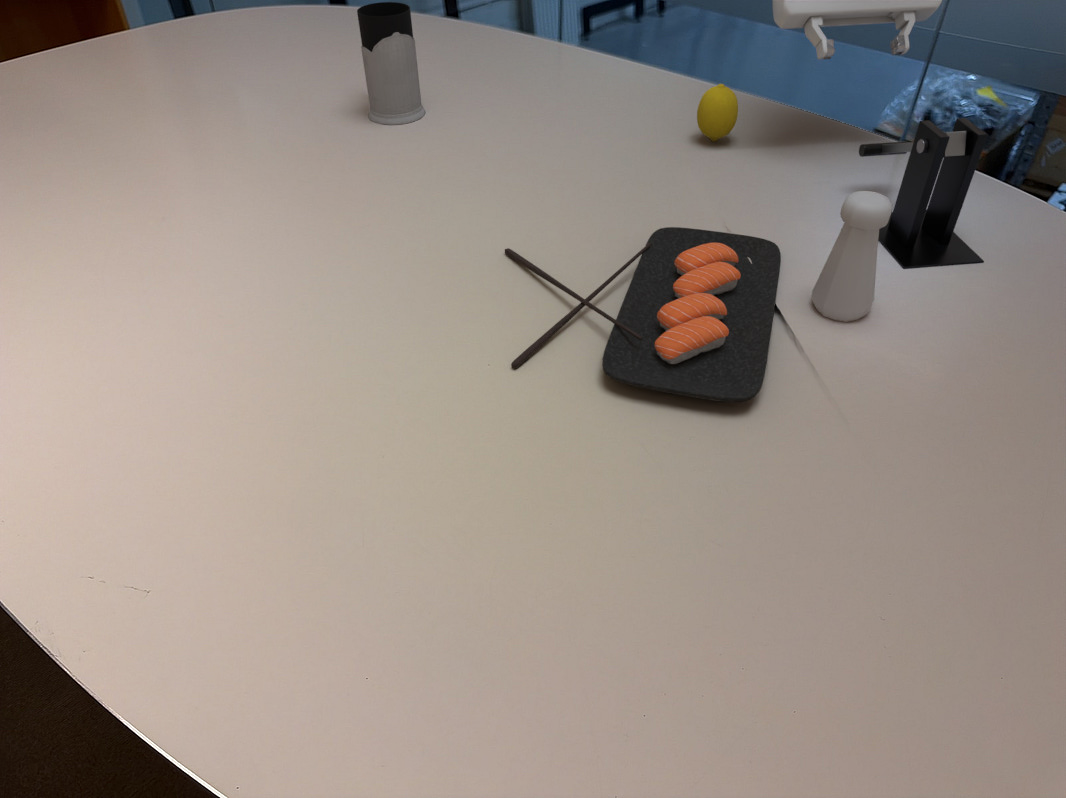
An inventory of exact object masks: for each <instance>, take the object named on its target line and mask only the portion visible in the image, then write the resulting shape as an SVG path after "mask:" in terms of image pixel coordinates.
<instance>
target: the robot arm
mask: <svg viewBox="0 0 1066 798" xmlns="http://www.w3.org/2000/svg"><path fill="white" fill-rule="evenodd" d="M771 1H772V2H771V3H772V17H773V21H774V23H775V24H776V26H778V27H779V28H780V29H782V30H788V29H789V30H791V29H804V35H805V37H806V38H807V39H808V41H809V42H810V43H811V45H813V47H814V48H815V50H816V58H817V60H819V61H820V60H830V59H832V57H833V56H834V55H835V53H836V48H835V47H834V45H835V41H834V38H830V39H828V37H826V35H825V33H824V32H823V31H822V28H826V27H844V26H861V25H880V24H883V25H884V24H894V25H895V30H897V31H899V33H898V35H896V36H895V37H894V38H893V39H892V40H891V41H890V42H889V48H890V55H891V56H903V55H906V53H907V52H909V50H910V38H909V35H910V34H911V32H912V30H913V27H914V25H915V23H917V22H918V23H919V22H925V21H927V20H928V19H929V18H931V16H933V14H934V13H935V12H936V11H937V10H938V9H939V7H940V6H941V4H942V2H943V0H771Z"/></svg>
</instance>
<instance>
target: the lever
mask: <svg viewBox="0 0 1066 798" xmlns="http://www.w3.org/2000/svg"><path fill="white" fill-rule="evenodd" d="M943 132H944V133H945V134H947V135H948V136H949V137H950V138H949V141H948V144H947V147H946V150H945V153H944V157H949V156H964V155H965V146H966V133H967V132H966V131H957V132H952V131H943ZM913 142H914V141H912V142H908V141H905V140H903V141H890V142H889V141H888V142H873V143H861V144H860V145H859V147H858V155H859V157H861V158H865V157H878V156H879V157H880V156H881V157H882V156H895V155H906V154H907V153H911V149H912V146H913ZM944 157H943V158H944Z"/></svg>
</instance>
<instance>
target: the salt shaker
mask: <svg viewBox="0 0 1066 798" xmlns="http://www.w3.org/2000/svg"><path fill="white" fill-rule="evenodd" d="M891 212H893V204H892V202H891V200H890V199H889V198H888V197H887V196H886V195H884V194H882V193H880V192H875V191H871V190H858V191H854V192H852V193H850V194H848V195H847V196H845V199H844V200H843V203H842V205H841V208H840V212H839V215H840V218H841V220H842V222H843V224H842V227H841V229H840V232H839V233H838V236H837V238H836V239H835V242H834V244H833V246H832V248H831V251H830V253H829V255H828V257H827V258H826V261H825V263H824V265H823V267H822V269H821V272H820V274H819V276H818V278H817V280H816V282H815V284H814V286H813V289H812V292H811V299H812V303H813V304H812V305H814V307H815V309H816V311H817V312H818V313H819V314H821V315H822V316H823V317H825V318H828V319H831V320H833V321H838V322H839V321H841V322H844V323H847V322H852V321H857V320H859V319H861V318H864V317H865V316H867V314H868V313H869V312H870V311H871V309H872V307H873V303H874V301H875V294H876V293H875V292H876V291H875V290H876V278H877V277H876V276H877V275H876V274H877V261H878V260H877V259H878V248H879V247H878V246H879V241H878V238H879V229H880V228H882V227H884V226H886V225H887V223H888V221H889V218H890V215H891Z"/></svg>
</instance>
